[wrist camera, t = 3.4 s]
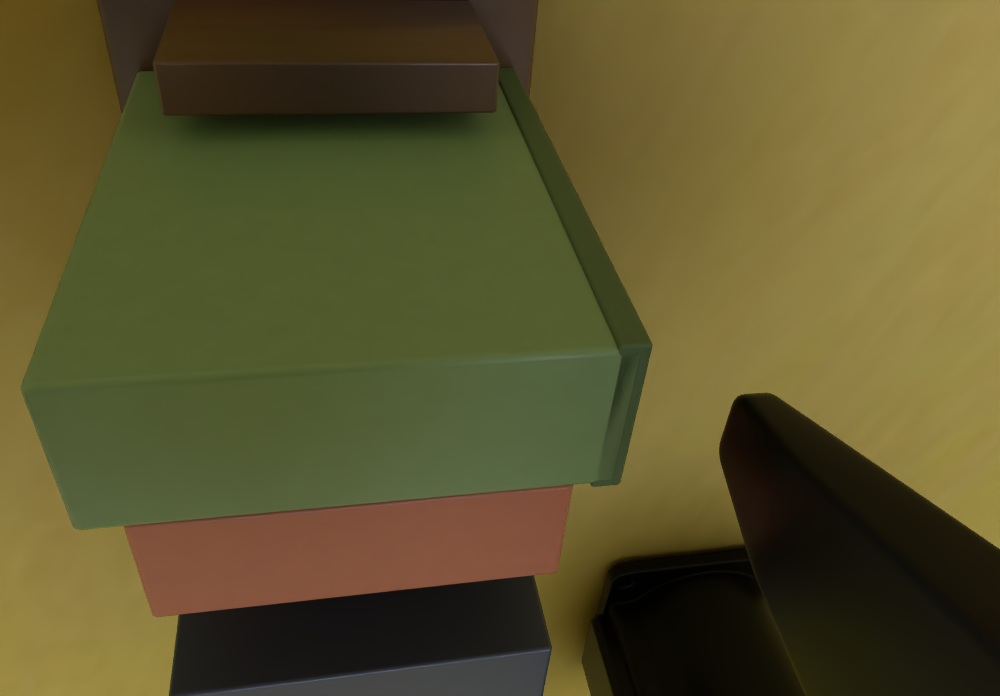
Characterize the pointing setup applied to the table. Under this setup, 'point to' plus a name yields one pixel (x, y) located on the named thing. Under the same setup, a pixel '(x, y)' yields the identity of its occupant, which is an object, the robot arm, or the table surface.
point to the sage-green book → (331, 317)
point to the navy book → (371, 645)
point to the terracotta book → (348, 549)
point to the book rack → (320, 54)
